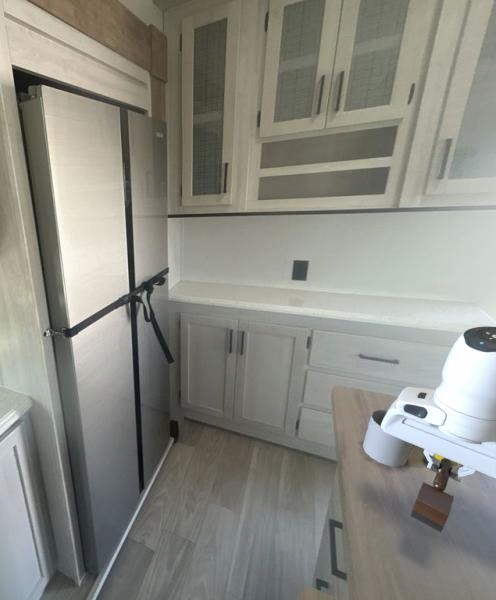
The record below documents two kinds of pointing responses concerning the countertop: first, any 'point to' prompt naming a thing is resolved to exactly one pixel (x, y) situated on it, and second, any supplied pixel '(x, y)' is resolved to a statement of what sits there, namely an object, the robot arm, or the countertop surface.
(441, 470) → the brush
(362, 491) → the countertop surface
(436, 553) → the countertop surface
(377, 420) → the cup
